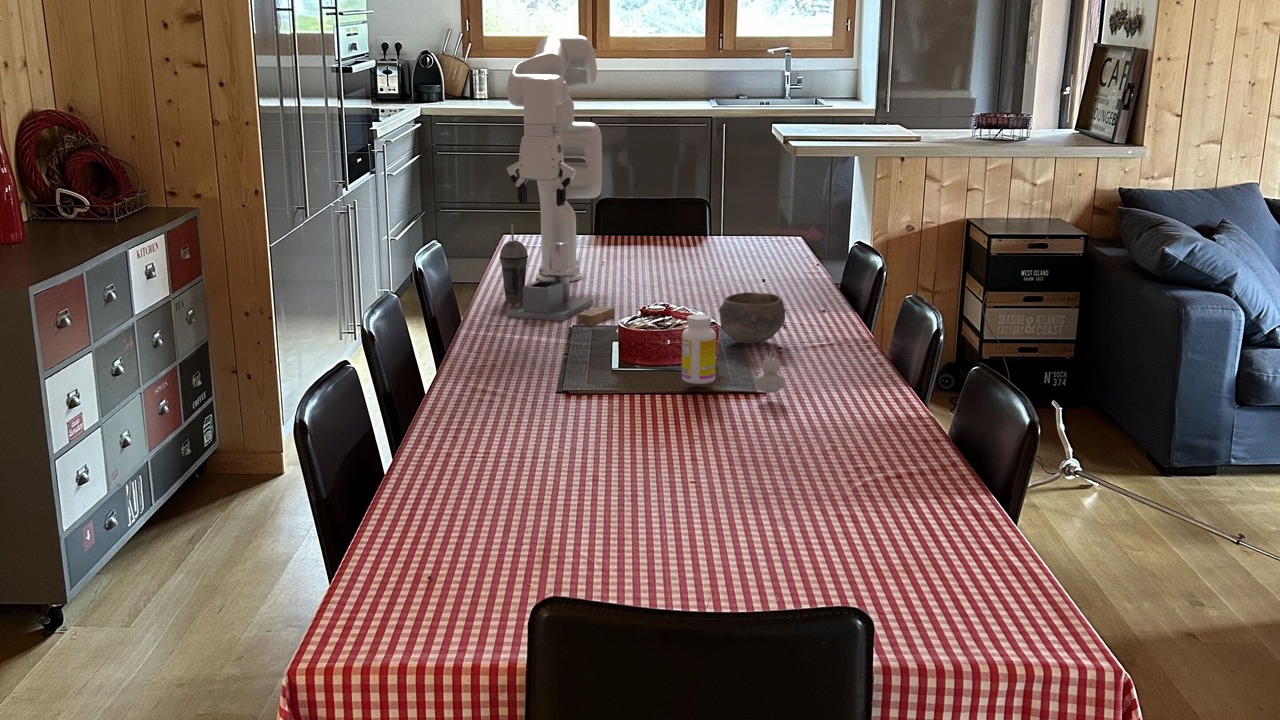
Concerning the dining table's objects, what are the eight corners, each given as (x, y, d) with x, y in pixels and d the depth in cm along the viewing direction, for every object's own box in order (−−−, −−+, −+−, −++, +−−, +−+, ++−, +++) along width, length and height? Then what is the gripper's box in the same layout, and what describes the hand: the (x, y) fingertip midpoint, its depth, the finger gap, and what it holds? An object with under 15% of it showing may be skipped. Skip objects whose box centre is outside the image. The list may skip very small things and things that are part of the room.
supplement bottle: (719, 377, 242) (720, 314, 238) (710, 386, 236) (711, 321, 232) (687, 374, 244) (688, 311, 241) (677, 383, 238) (678, 319, 235)
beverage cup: (531, 298, 313) (530, 221, 307) (526, 304, 306) (524, 225, 300) (503, 298, 313) (501, 221, 308) (497, 304, 306) (495, 225, 301)
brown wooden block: (577, 313, 287) (600, 306, 295) (577, 324, 287) (600, 316, 296) (591, 315, 285) (614, 307, 293) (592, 326, 285) (614, 318, 294)
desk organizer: (542, 300, 311) (541, 238, 307) (593, 304, 306) (592, 241, 302) (508, 316, 293) (506, 251, 288) (562, 321, 288) (561, 254, 284)
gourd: (780, 387, 235) (782, 347, 233) (787, 397, 229) (789, 356, 227) (753, 388, 235) (754, 348, 233) (759, 398, 228) (760, 356, 226)
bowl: (792, 337, 274) (794, 293, 271) (770, 353, 261) (771, 307, 258) (734, 330, 280) (735, 288, 277) (709, 345, 266) (710, 301, 264)
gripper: (580, 131, 284) (581, 204, 289) (513, 128, 290) (515, 200, 294) (568, 133, 277) (569, 208, 282) (499, 131, 283) (501, 204, 288)
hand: (541, 204), depth 288 cm, fingers open, 9 cm apart
